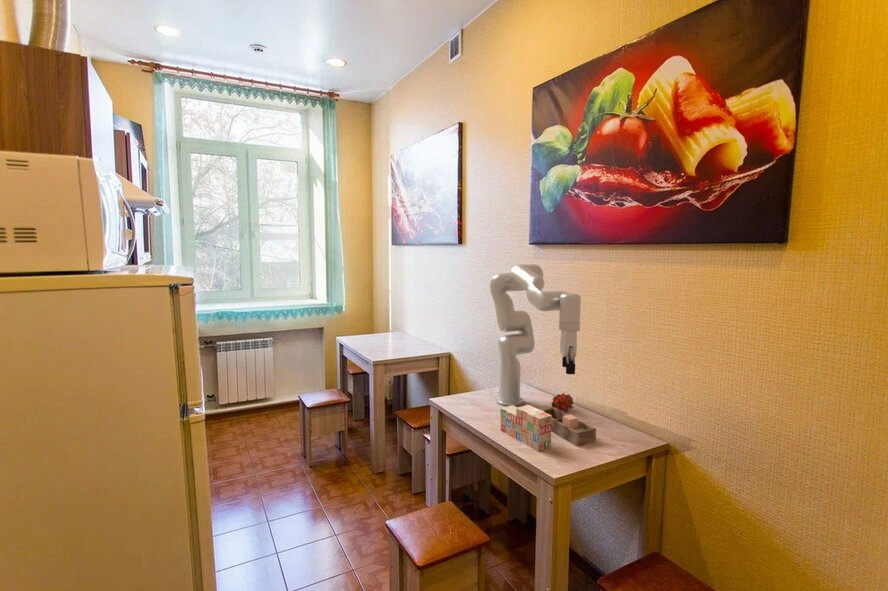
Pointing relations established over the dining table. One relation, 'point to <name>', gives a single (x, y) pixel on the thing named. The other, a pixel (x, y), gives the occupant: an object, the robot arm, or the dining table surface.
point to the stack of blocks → (527, 425)
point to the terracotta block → (570, 421)
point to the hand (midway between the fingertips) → (568, 370)
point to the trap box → (574, 436)
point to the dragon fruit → (562, 402)
